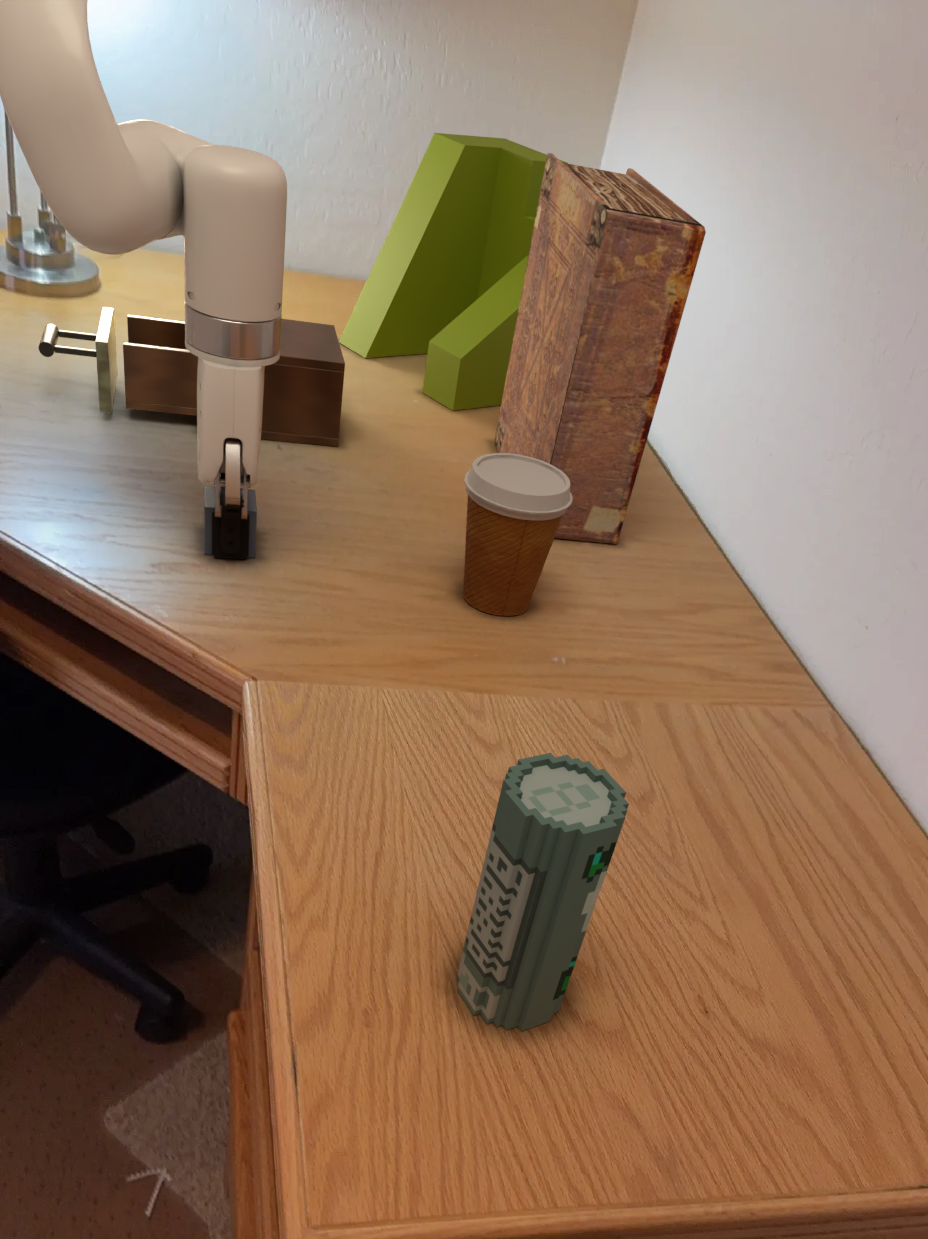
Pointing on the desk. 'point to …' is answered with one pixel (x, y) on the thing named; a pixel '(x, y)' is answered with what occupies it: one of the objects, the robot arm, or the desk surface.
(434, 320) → the book holder
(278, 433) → the cabinet
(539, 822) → the can
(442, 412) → the desk surface
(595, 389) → the book
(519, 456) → the disposable coffee cup
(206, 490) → the block
